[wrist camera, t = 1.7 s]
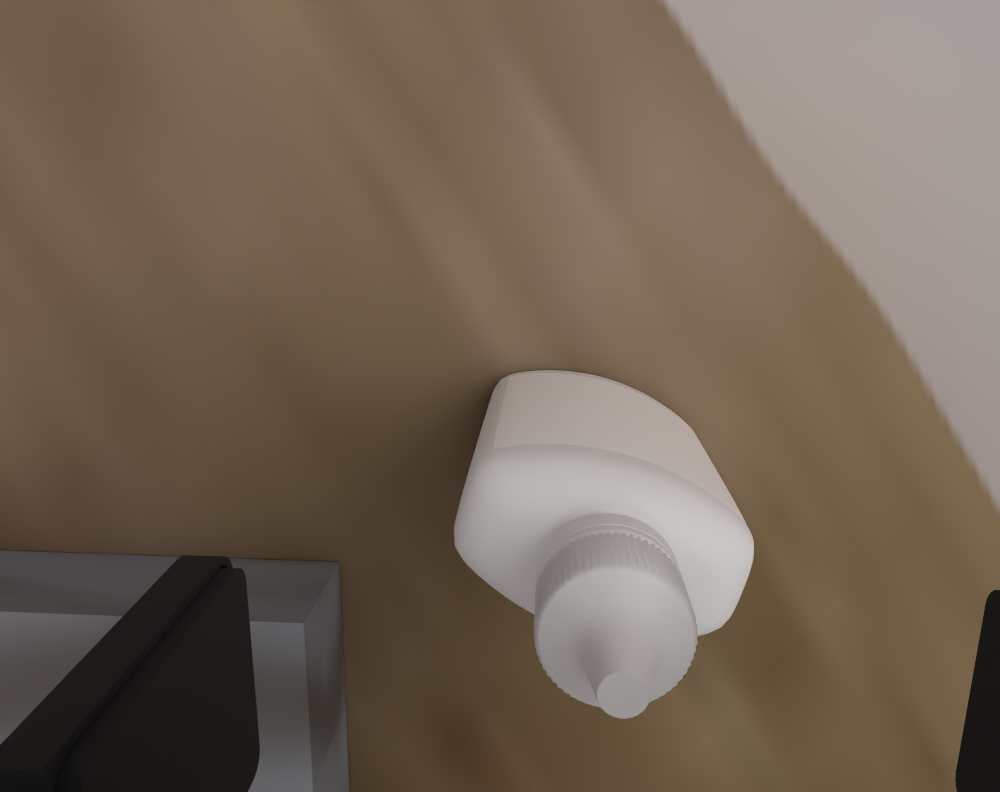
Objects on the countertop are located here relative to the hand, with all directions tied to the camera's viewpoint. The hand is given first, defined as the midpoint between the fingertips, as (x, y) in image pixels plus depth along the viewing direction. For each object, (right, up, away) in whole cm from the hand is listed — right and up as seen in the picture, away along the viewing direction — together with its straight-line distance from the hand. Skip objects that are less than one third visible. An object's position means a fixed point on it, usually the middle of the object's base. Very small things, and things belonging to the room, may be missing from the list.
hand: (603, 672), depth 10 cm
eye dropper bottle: (+1, +2, +12) cm, 13 cm away
